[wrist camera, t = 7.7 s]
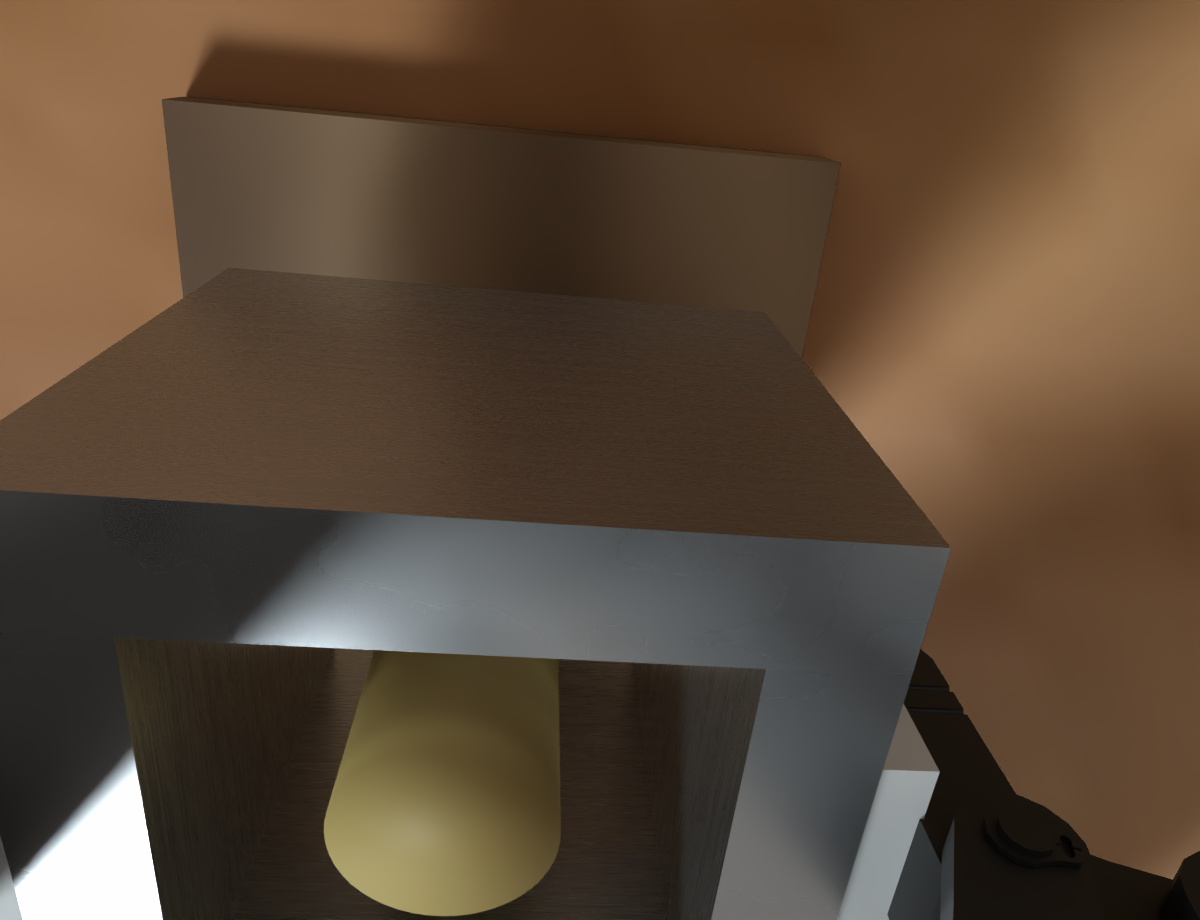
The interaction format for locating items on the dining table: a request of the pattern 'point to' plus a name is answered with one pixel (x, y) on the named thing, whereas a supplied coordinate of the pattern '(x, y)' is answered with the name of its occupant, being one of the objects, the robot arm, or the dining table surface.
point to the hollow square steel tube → (446, 595)
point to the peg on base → (502, 262)
